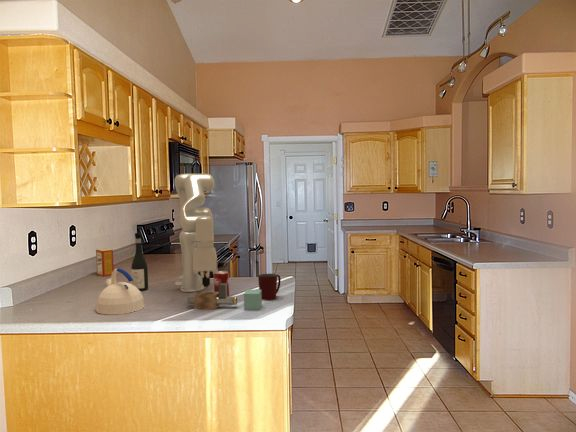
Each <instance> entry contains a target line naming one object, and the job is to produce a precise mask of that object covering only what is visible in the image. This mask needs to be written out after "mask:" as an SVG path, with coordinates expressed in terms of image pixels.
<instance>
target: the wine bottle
mask: <svg viewBox="0 0 576 432" xmlns="http://www.w3.org/2000/svg"><path fill="white" fill-rule="evenodd" d="M141 236H142V233H141V232H135V233H134V238H135V254H134V257H133V259H132V263H131V266H130V267H131V268H130V269H131V277H132V279H133V280H134V281H131V284H132V285H134V286H135V287H137V288H138V289H139V291H140V292H142V291H147V290H148V289H149V276H148V275H149V272H148V263H147V261H146V259H145V257H144V254H143V252H142V237H141Z"/></svg>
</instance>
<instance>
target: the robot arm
mask: <svg viewBox="0 0 576 432" xmlns="http://www.w3.org/2000/svg"><path fill="white" fill-rule="evenodd" d="M174 187H175V190H176V193H177V196H178V197H179V202H180V203H179V204H180V206H179V207H180V211H179V219H180V220H179V221H180V224H181V225H180V226H181V229H182V230H181V231H180V233H179V243H180V248H181V249H180V250H181V266H182V268H181V269H182V280H181V281H175V283H174V284H175V286H176V287H180V288H179V291H180V292H184V293H195V292H196V293H198V292H202V291H203V290H205V289H206V288H208V287H209V286H210V284H211V276H212V275H214V273H217V272H218V271H219V269H218V255H217V250H216V247H214V246H215V245H214V242H215V235H214V233H215V232H214V219H213V213H212V210H211V209H210V208H208V207H202V206H203V205H205V202H206V195H205V192H212V191H214V189H215V180H214V177H213V176H212V175H211V174H209V173H180V174H177V175H176V176H175V178H174ZM205 272H206V273H205Z"/></svg>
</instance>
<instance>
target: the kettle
mask: <svg viewBox="0 0 576 432" xmlns="http://www.w3.org/2000/svg"><path fill="white" fill-rule="evenodd" d="M118 273H120V274H122V275H123V276H124V277H125V278H126V279H127V281H128V282H129V283H128V282H125V281H120V282H119V281H118V282H117V274H118ZM132 281H134V280H133V279H132V275H131V274H129V272H128V271H126V270H124V269H122V268H115V269H114V271H113V272H112V274H111V276H110V278H107V279H106V280H105V281H104V282H105V284H106V287H104V289H103V290H102V292H101V293H100V294H99V295H98V298H97V300H96V309H95V310H96V313H97V314H99V313H100V314H99V315H105V314H106V316H107V315H109V316H113V315H114V316H115V315H116V314H117V315H124V314H125V313H126V314H130V312H131V313H135V312H138V311H140V310H142V309H144V308H145V300H144V296H143V293H142V291H139V289H138V288H137V287H135V286H134V285H132V283H130V282H132ZM143 307H144V308H143ZM134 311H135V312H134ZM126 314H125V315H126ZM117 315H116V316H117Z"/></svg>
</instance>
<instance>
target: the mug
mask: <svg viewBox="0 0 576 432" xmlns="http://www.w3.org/2000/svg"><path fill="white" fill-rule="evenodd" d="M257 278H258V290H261V295H262V301H272V300H276V298H277V294H278V292H279V290H280V289H281V282H282V281H281V276H280V275H279V274H276V273H261V274H258V276H257Z"/></svg>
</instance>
